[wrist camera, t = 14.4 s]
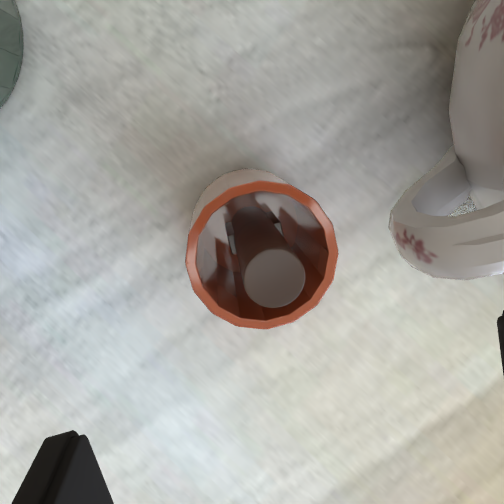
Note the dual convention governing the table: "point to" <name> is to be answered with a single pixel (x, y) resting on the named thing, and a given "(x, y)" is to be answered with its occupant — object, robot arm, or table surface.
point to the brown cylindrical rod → (265, 257)
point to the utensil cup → (226, 264)
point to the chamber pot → (463, 165)
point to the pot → (9, 48)
